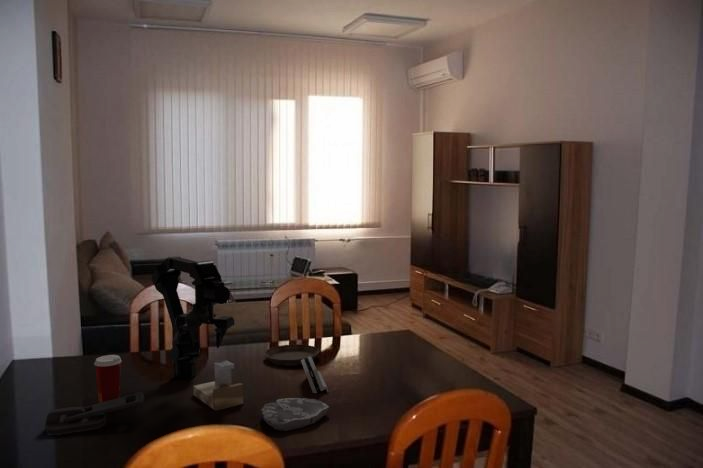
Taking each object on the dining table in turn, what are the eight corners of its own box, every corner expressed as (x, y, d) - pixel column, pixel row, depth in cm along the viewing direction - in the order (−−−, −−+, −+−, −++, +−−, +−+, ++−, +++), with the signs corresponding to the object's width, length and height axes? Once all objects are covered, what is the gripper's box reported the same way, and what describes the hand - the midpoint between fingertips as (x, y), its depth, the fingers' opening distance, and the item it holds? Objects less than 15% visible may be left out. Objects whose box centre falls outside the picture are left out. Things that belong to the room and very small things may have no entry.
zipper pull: (144, 401, 159) (42, 413, 150) (144, 424, 159) (43, 438, 151) (144, 390, 167) (47, 401, 159) (144, 412, 168) (48, 424, 159)
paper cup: (128, 400, 177) (127, 355, 176) (110, 409, 170) (109, 363, 168) (108, 397, 179) (106, 353, 178) (89, 406, 172) (87, 360, 171)
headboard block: (193, 395, 181) (193, 376, 181) (220, 388, 187) (220, 370, 186) (215, 410, 169) (214, 390, 168) (243, 403, 174) (242, 384, 174)
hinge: (329, 392, 183) (318, 364, 182) (315, 398, 182) (304, 370, 181) (321, 375, 199) (311, 349, 198) (308, 381, 199) (298, 355, 197)
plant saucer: (253, 360, 217) (253, 352, 217) (292, 348, 233) (292, 340, 233) (291, 372, 204) (291, 363, 204) (330, 358, 220) (330, 349, 220)
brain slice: (297, 402, 176) (297, 392, 176) (337, 417, 164) (337, 407, 164) (244, 421, 162) (244, 410, 162) (283, 439, 150) (283, 428, 150)
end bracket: (215, 403, 174) (214, 362, 173) (227, 400, 177) (226, 360, 176) (222, 408, 171) (221, 366, 170) (235, 405, 173) (234, 364, 172)
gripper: (164, 302, 182) (166, 351, 184) (217, 306, 177) (218, 356, 178) (184, 296, 193) (185, 342, 194) (234, 299, 188) (235, 346, 189)
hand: (205, 346), depth 189 cm, fingers open, 9 cm apart
